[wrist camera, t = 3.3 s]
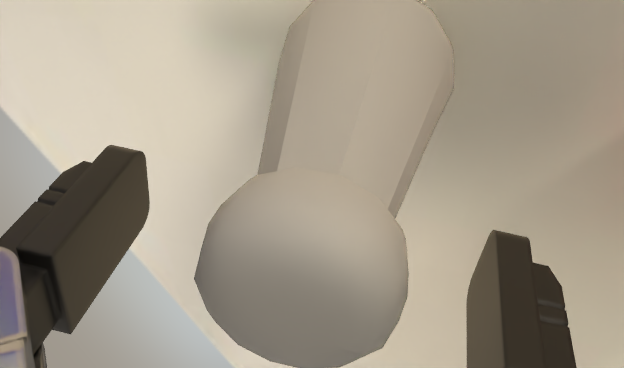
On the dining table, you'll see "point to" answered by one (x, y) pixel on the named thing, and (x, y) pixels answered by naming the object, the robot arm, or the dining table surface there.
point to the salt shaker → (330, 186)
